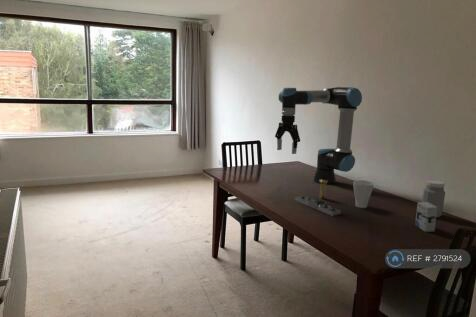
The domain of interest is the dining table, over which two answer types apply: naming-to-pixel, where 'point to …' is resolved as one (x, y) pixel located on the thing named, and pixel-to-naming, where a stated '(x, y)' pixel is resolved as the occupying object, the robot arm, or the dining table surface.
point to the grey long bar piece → (318, 205)
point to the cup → (362, 192)
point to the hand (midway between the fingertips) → (286, 151)
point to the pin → (322, 188)
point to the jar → (435, 195)
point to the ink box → (426, 216)
